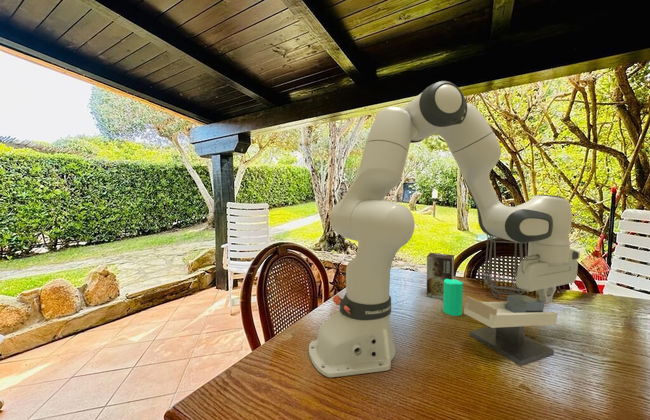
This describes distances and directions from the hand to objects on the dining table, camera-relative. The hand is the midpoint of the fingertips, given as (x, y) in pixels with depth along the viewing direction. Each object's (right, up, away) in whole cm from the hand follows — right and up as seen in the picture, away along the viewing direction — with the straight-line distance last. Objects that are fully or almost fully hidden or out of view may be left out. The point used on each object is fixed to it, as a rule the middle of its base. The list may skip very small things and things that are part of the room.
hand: (545, 301), depth 75 cm
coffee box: (-18, -8, +28) cm, 34 cm away
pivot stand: (-13, -10, -4) cm, 17 cm away
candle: (-19, -9, +15) cm, 26 cm away
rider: (-8, -2, -3) cm, 9 cm away
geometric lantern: (+8, -8, +29) cm, 31 cm away
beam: (-13, -3, -5) cm, 14 cm away
